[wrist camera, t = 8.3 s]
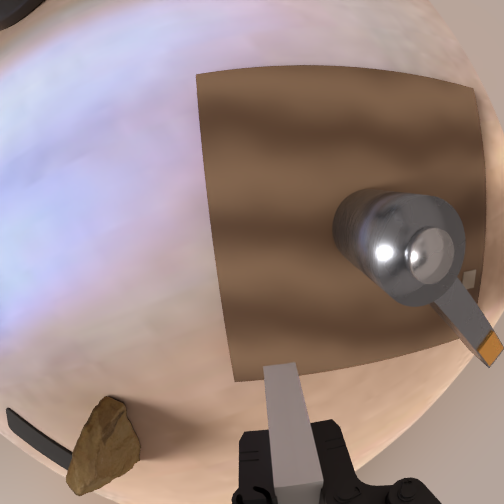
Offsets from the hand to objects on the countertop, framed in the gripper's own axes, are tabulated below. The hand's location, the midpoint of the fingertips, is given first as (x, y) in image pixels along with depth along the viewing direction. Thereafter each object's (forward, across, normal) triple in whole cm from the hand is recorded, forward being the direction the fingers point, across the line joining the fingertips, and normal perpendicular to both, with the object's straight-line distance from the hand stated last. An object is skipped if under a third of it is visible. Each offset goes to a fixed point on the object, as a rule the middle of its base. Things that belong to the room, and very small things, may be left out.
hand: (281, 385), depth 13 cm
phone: (+9, -35, -22) cm, 43 cm away
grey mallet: (+6, +11, +2) cm, 13 cm away
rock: (+9, -17, -14) cm, 24 cm away
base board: (+9, +8, +6) cm, 13 cm away
